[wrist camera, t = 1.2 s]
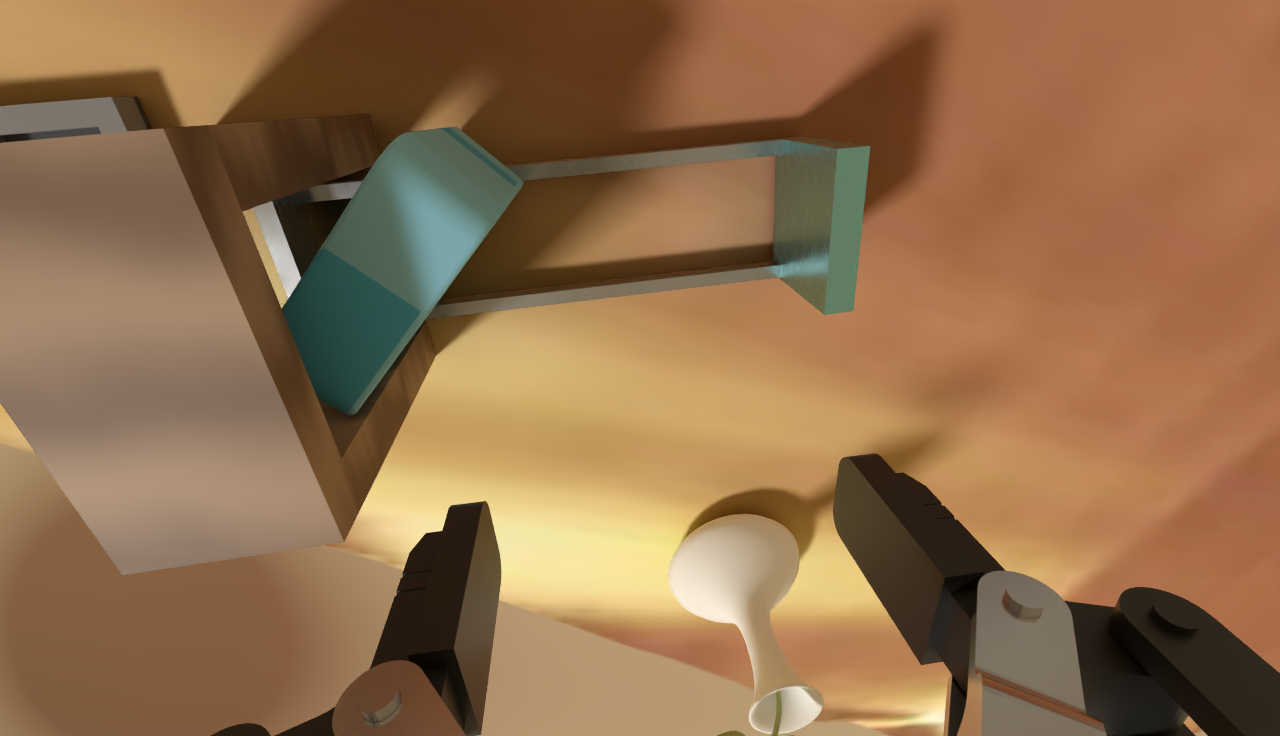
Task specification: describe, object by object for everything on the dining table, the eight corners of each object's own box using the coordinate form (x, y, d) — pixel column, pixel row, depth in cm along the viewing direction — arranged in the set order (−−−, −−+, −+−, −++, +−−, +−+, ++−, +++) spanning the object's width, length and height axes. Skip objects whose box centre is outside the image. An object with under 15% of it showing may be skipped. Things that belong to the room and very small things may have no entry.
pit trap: (-33, 111, 27) (-71, 111, 25) (137, 97, 28) (110, 96, 26) (144, 416, 35) (124, 432, 34) (272, 400, 36) (259, 414, 34)
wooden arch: (213, 127, 29) (-175, 158, 14) (368, 114, 29) (163, 128, 14) (310, 371, 35) (122, 574, 20) (435, 356, 36) (344, 541, 21)
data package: (459, 123, 30) (393, 129, 19) (527, 179, 31) (502, 214, 21) (349, 288, 33) (238, 374, 22) (416, 331, 35) (343, 431, 24)
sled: (281, 187, 30) (194, 214, 23) (802, 135, 32) (870, 145, 25) (331, 324, 34) (269, 384, 27) (795, 269, 36) (853, 311, 29)
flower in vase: (811, 509, 46) (1040, 886, 24) (765, 604, 51) (922, 993, 29) (666, 491, 44) (775, 899, 21) (631, 593, 48) (692, 1017, 26)
